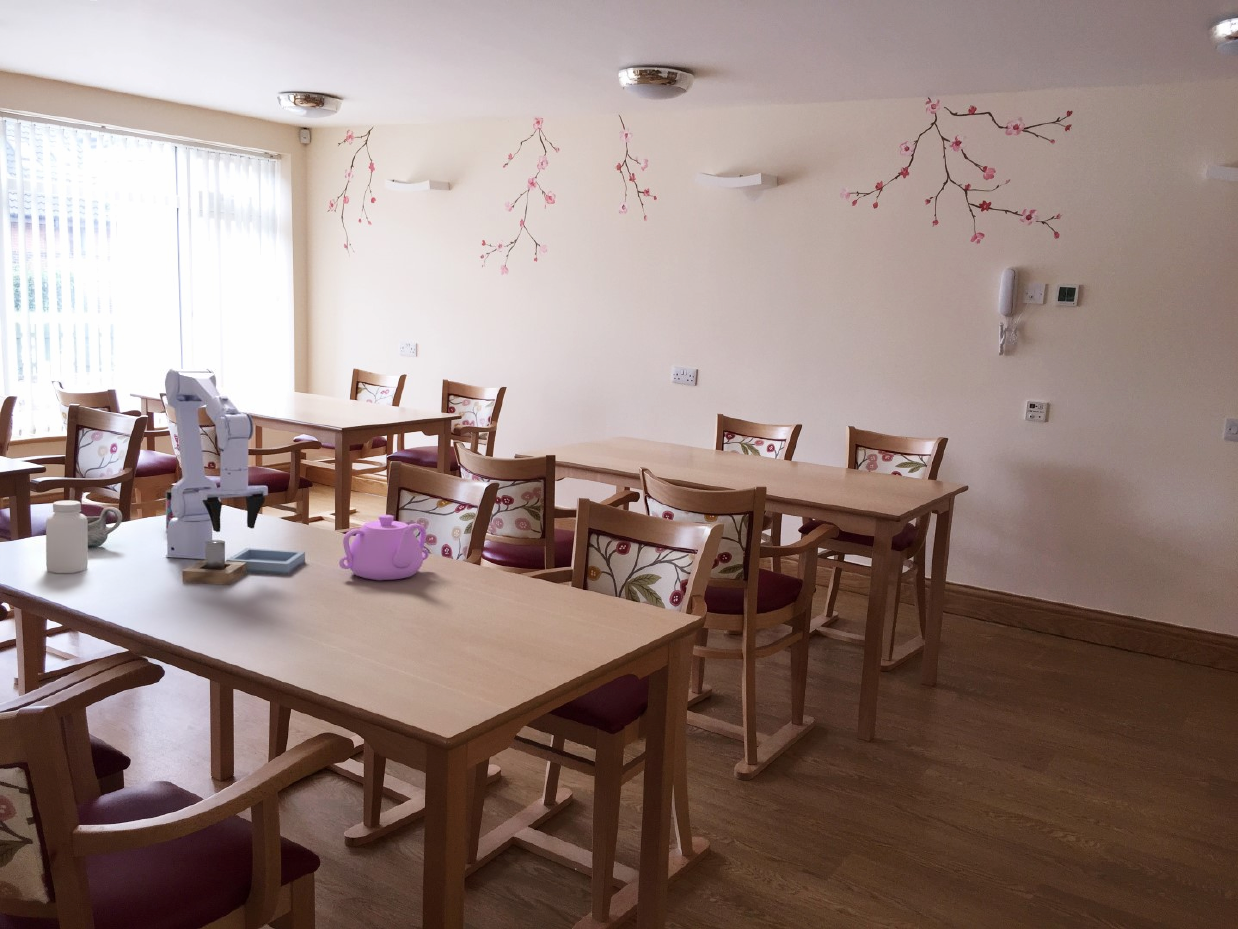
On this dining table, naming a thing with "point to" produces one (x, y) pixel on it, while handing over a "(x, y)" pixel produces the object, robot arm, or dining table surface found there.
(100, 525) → the mug
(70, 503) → the pill bottle
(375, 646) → the dining table surface
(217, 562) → the pin
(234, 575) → the socket block
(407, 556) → the pink lidded pot
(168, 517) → the supplement container
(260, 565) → the tray
